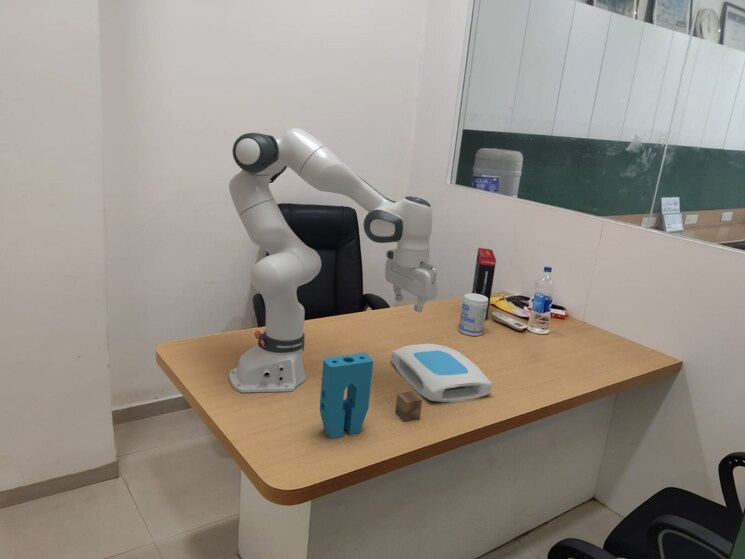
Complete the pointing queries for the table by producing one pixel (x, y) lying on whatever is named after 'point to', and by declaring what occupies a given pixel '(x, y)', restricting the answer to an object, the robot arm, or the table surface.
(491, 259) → the graphics card box
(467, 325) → the supplement tub
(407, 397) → the walnut block
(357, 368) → the block
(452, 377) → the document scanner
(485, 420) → the table surface
